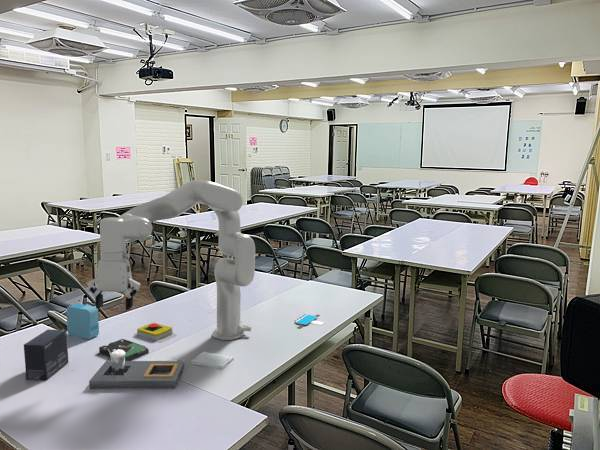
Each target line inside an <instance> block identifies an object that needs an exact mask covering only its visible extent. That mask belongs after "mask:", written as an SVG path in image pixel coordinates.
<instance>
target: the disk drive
mask: <svg viewBox="0 0 600 450" xmlns="http://www.w3.org/2000/svg"><path fill="white" fill-rule="evenodd" d="M108 349H109V351H110V353H112V352H113V351H115V350H118V349H120V350H123V351H125V353H126V354H125V361H135V360H136V359H139V358H141V357H142V356H146V355H148V354H149V353H150V350H149V348H148V347H147V346H145V345H142V344H140V343H137V342H134V341H130V340H128V339H124V338H121V339H118V340H115V341H113V342H110V343H109V344H107V345H102V346H99V347H98V352H99V354H100V355H103V356H105V357H108V358H111V357H110V353H109V351H108Z"/></svg>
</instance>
